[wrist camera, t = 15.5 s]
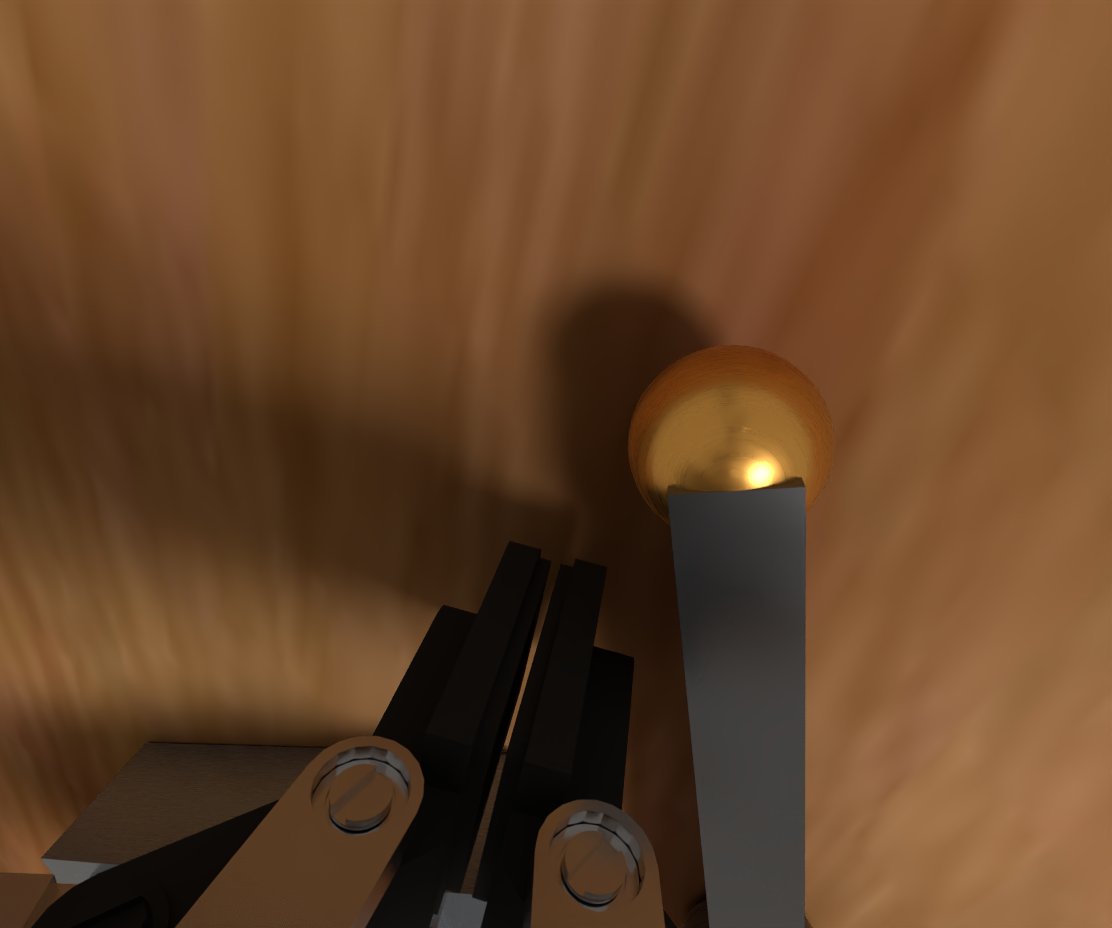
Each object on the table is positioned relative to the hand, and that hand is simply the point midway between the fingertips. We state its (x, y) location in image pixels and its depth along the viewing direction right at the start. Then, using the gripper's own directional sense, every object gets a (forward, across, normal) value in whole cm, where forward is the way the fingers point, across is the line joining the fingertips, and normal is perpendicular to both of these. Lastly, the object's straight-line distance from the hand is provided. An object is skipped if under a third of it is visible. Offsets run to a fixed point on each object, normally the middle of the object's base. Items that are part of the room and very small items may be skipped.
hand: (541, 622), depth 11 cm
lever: (+1, -4, +2) cm, 5 cm away
